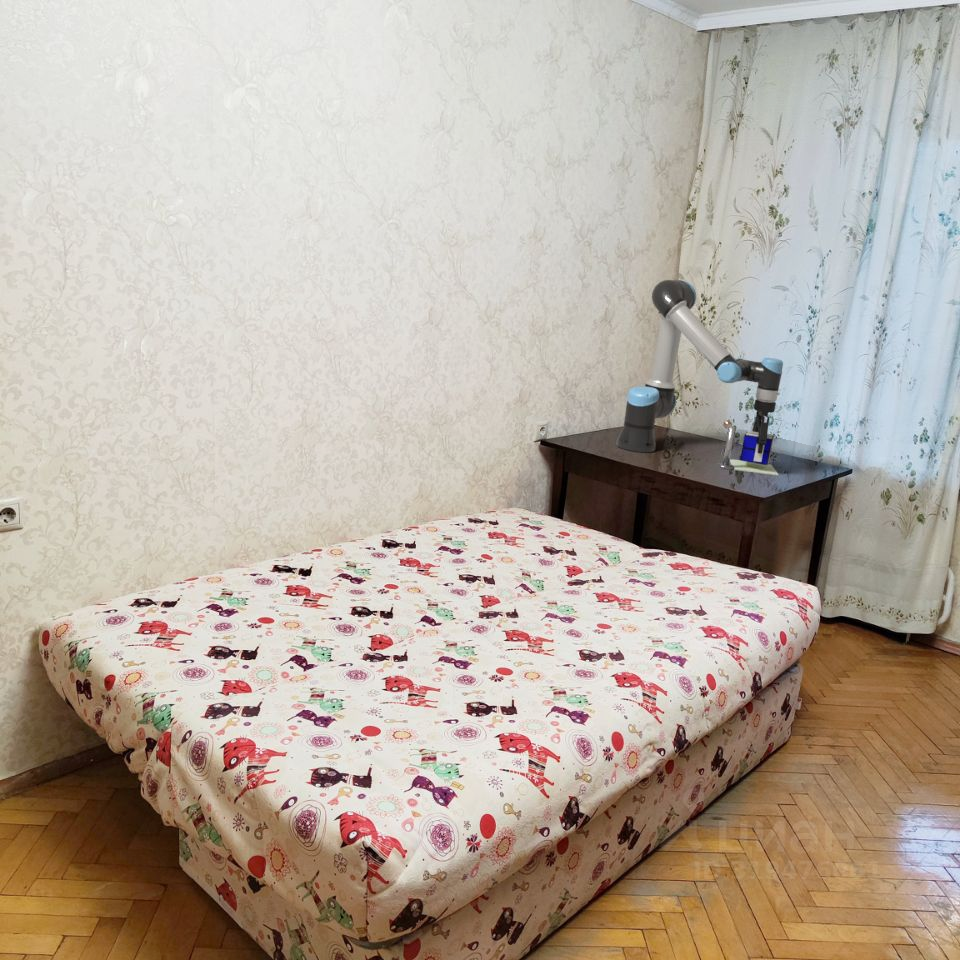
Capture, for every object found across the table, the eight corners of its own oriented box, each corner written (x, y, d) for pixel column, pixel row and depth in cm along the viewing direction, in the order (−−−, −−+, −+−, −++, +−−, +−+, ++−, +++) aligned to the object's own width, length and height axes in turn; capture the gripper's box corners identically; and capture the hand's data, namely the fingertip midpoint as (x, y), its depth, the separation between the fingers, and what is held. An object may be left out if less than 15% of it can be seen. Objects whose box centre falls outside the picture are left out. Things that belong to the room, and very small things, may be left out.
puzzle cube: (739, 460, 333) (744, 434, 330) (742, 455, 342) (747, 430, 339) (767, 465, 329) (772, 439, 327) (769, 460, 338) (774, 434, 336)
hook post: (718, 468, 329) (725, 427, 325) (713, 457, 346) (720, 418, 342) (734, 470, 329) (742, 429, 324) (728, 459, 345) (735, 420, 341)
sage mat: (734, 469, 330) (734, 468, 330) (728, 459, 345) (729, 458, 345) (778, 475, 328) (778, 474, 328) (771, 465, 343) (771, 464, 343)
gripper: (781, 407, 318) (770, 466, 324) (770, 396, 340) (760, 452, 346) (760, 404, 319) (749, 463, 325) (750, 394, 341) (740, 449, 347)
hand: (755, 457), depth 335 cm, fingers closed on puzzle cube, 11 cm apart
